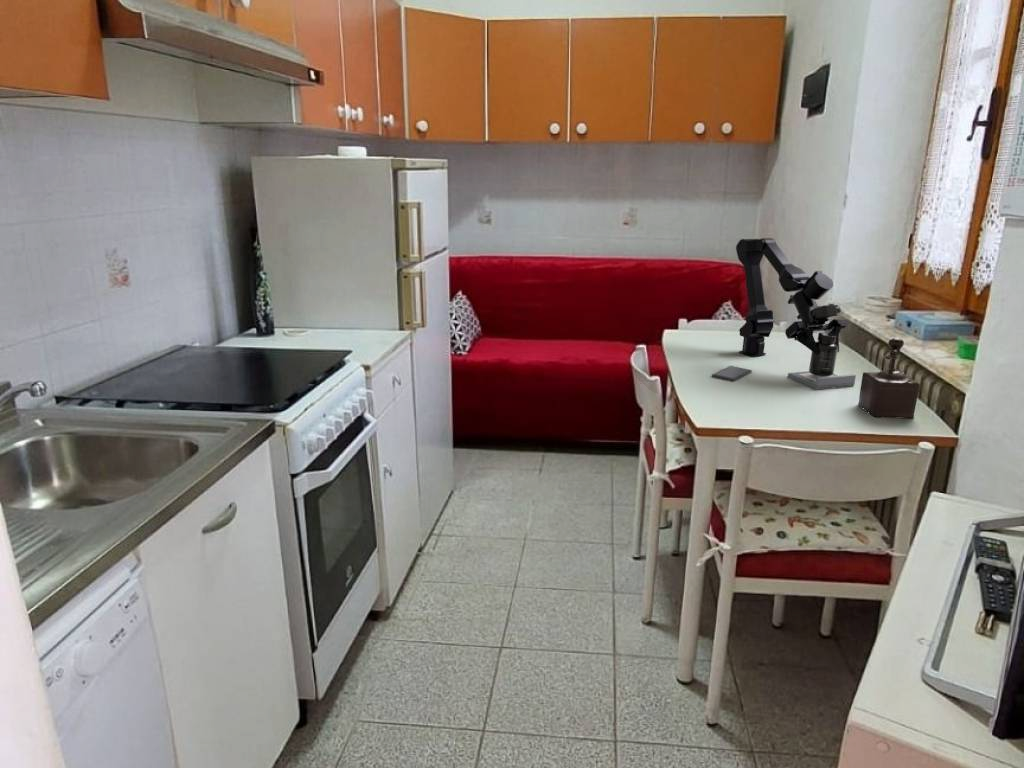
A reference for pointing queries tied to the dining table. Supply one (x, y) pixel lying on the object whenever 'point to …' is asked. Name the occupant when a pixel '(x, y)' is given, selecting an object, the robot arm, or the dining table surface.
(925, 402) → the dining table surface
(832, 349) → the supplement bottle
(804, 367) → the dining table surface
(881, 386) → the pepper mill
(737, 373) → the phone
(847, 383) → the tray
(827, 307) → the robot arm
